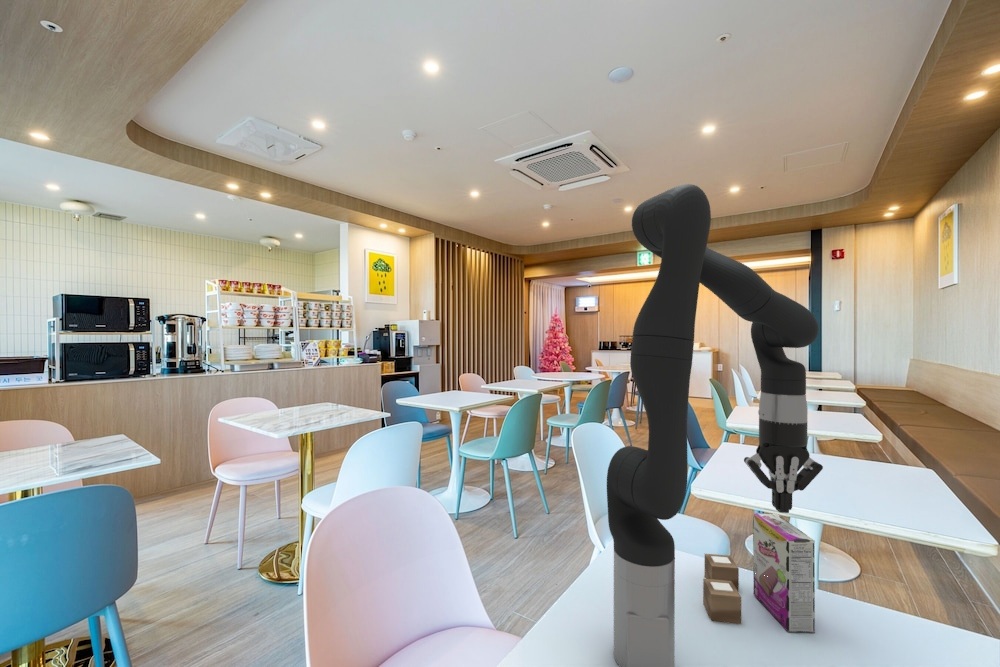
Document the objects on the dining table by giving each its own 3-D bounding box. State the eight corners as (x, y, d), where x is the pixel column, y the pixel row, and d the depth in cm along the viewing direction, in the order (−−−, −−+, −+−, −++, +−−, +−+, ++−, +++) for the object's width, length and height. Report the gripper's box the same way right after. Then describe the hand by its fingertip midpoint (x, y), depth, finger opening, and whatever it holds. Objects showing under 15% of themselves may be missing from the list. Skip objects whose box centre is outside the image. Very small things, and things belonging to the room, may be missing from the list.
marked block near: (741, 624, 78) (741, 595, 78) (711, 621, 79) (711, 593, 79) (731, 607, 83) (731, 579, 83) (703, 604, 84) (703, 577, 84)
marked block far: (738, 593, 87) (738, 567, 87) (711, 590, 88) (711, 565, 88) (729, 579, 92) (729, 554, 92) (704, 576, 93) (704, 552, 93)
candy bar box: (751, 594, 87) (751, 512, 86) (776, 595, 86) (777, 512, 86) (787, 634, 75) (787, 539, 75) (816, 634, 75) (816, 539, 75)
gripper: (751, 420, 78) (751, 517, 78) (834, 423, 76) (833, 522, 76) (736, 412, 86) (736, 501, 86) (811, 414, 83) (810, 505, 83)
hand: (782, 511), depth 81 cm, fingers closed
